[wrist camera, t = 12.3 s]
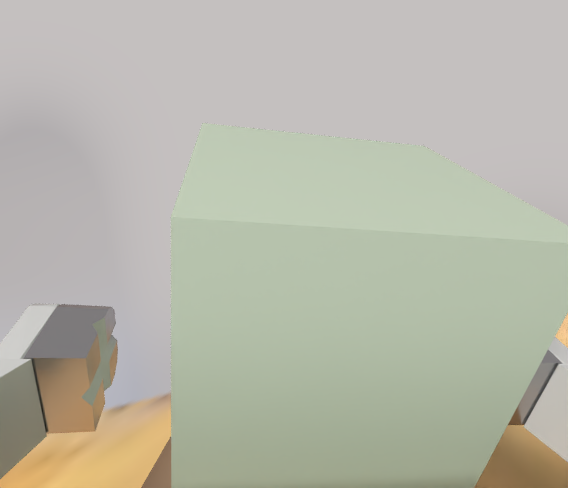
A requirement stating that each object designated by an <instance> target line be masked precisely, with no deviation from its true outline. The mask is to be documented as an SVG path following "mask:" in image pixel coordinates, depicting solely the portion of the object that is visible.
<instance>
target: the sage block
mask: <svg viewBox="0 0 568 488" xmlns="http://www.w3.org/2000/svg"><path fill="white" fill-rule="evenodd" d="M567 313H568V226H567V225H566V224H564V223H562V222H560V221H558V220H557V219H555V218H553V217H551V216H550V215H548V214H546V213H544V212H542V211H540V210H539V209H537V208H535V207H533V206H531V205H530V204H528V203H526V202H524V201H523V200H521V199H519V198H517V197H515V196H514V195H512V194H510V193H508V192H506V191H504V190H503V189H501V188H499V187H497V186H495V185H494V184H492V183H490V182H488V181H486V180H485V179H483V178H481V177H479V176H477V175H475V174H474V173H472V172H470V171H468V170H467V169H465V168H463V167H461V166H459V165H457V164H456V163H454V162H452V161H450V160H449V159H447V158H445V157H443V156H441V155H440V154H438V153H436V152H434V151H432V150H431V149H429V148H426V147H425V146H419V145H409V144H400V143H390V142H380V141H371V140H360V139H351V138H341V137H332V136H322V135H313V134H302V133H293V132H284V131H273V130H263V129H255V128H245V127H235V126H225V125H215V124H206V123H203V124H202V126H201V129H200V132H199V135H198V138H197V141H196V144H195V147H194V150H193V153H192V156H191V159H190V162H189V165H188V168H187V171H186V174H185V177H184V180H183V183H182V186H181V188H180V191H179V195H178V198H177V200H176V203H175V206H174V209H173V212H172V215H171V488H474V487H475V485H476V484H477V482H478V480H479V478H480V476H481V474H482V472H483V470H484V469H485V467H486V465H487V463H488V461H489V459H490V457H491V455H492V453H493V452H494V450H495V448H496V446H497V444H498V442H499V440H500V438H501V437H502V435H503V433H504V431H505V429H506V427H507V425H508V423H509V422H510V420H511V418H512V416H513V414H514V412H515V410H516V408H517V407H518V405H519V403H520V401H521V399H522V397H523V395H524V393H525V392H526V390H527V388H528V386H529V384H530V382H531V380H532V378H533V377H534V375H535V373H536V371H537V369H538V367H539V365H540V363H541V362H542V360H543V358H544V356H545V354H546V352H547V350H548V348H549V347H550V345H551V343H552V341H553V339H554V337H555V335H556V333H557V331H558V330H559V328H560V326H561V324H562V322H563V320H564V318H565V316H566V315H567Z"/></svg>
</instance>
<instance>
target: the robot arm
mask: <svg viewBox="0 0 568 488" xmlns="http://www.w3.org/2000/svg"><path fill="white" fill-rule="evenodd" d="M115 324H116V321H115V312H114V309H113V308H112V307H105V306H84V305H65V304H62V305H59V304H33V305H30V306H29V307H28V308H27V309H26V310H25V312H24V313H23V314H22V315H21V317H20V318H19V319H18V321H17V322H16V323H15V325H14V326H13V327H12V329H11V330H10V332H9V333H8V334H7V335H6V336H5V338H4V339H3V340H2V342H1V343H0V479H1V478H2V477H3V476H4V475H5V474H6V473H7V472H8V471H10V470H11V469H12V468H13V467H14V466H15V465H16V464H17V463H18V462H19V461H20V460H21V459H23V458H24V457H25V456H26V455H27V454H28V453H29V452H30V451H31V450H32V449H33V448H34V447H36V446H37V445H38V444H39V443H40V442H41V441H42V440H43V439H44V438H45V437H46V436H47V435H46V434H48V433H70V432H93V431H95V430H96V427H97V424H98V422H99V419H100V416H101V413H102V410H103V407H104V405H105V397H104V391H105V390H106V389H107V388H108V387H110V386H111V384H112V381H113V378H114V375H115V370H116V364H117V354H118V347H117V340H116V339H115V338H114V337H113V336H112V335H111V334H112V332H113V329H114V326H115ZM508 425H524V428H525V429H527V430H528V431H529V432H530V433H532V434H533V435H534V436H535V437H537V438H538V439H539V440H540V441H542V442H543V443H544V444H545V445H547V446H548V447H549V448H550V449H552V450H553V451H554V452H555V453H557V454H558V455H559V456H560V457H562V458H563V459H564V460H565V461H567V462H568V348H567V347H566V346H565V345H563V344H562V343H561V342H560V341H559V340H558V339H557V338H556V337H554V339H553V341H552V343H551V345H550V347H549V348H548V350H547V352H546V354H545V356H544V358H543V360H542V362H541V363H540V365H539V367H538V369H537V371H536V373H535V375H534V377H533V378H532V380H531V382H530V384H529V386H528V388H527V390H526V392H525V393H524V395H523V397H522V399H521V401H520V403H519V405H518V407H517V408H516V410H515V412H514V414H513V416H512V418H511V420H510V422H509V423H508Z"/></svg>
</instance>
